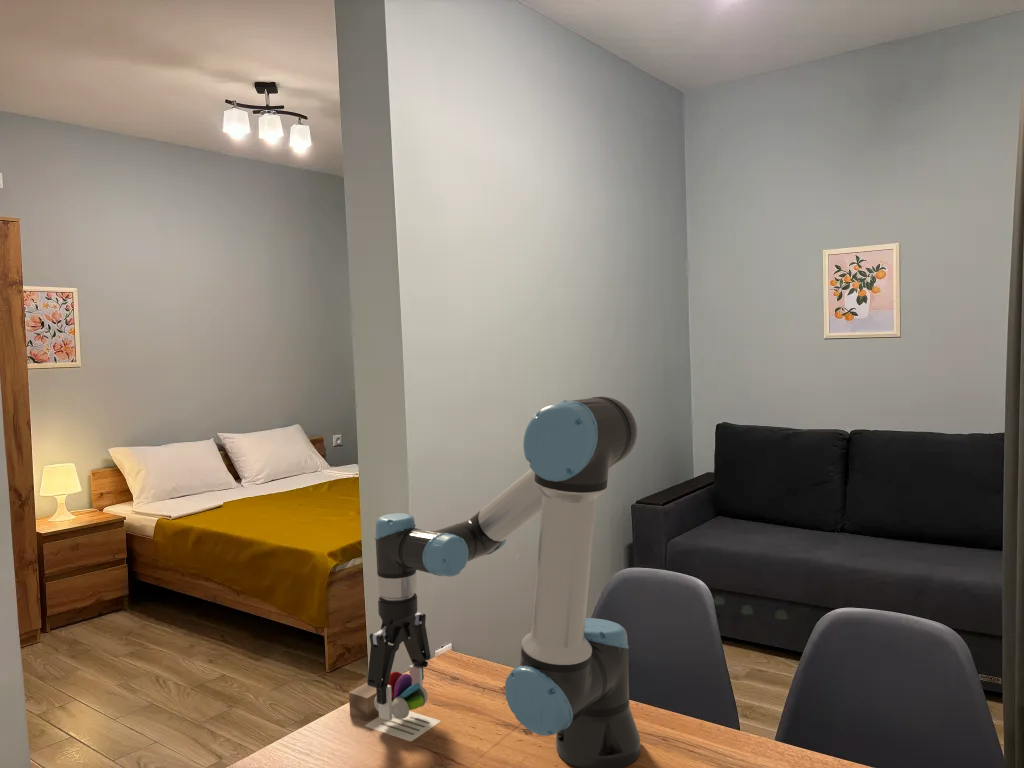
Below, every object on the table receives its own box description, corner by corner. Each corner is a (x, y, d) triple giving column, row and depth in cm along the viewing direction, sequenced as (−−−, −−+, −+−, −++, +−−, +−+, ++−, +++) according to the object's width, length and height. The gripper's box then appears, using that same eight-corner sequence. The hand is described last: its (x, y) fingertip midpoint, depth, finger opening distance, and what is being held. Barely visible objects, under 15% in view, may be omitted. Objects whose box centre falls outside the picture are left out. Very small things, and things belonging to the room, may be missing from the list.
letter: (441, 722, 148) (441, 720, 148) (411, 743, 140) (411, 741, 140) (395, 708, 155) (395, 706, 155) (364, 727, 147) (364, 725, 147)
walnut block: (385, 712, 153) (384, 688, 153) (368, 722, 149) (367, 698, 149) (367, 706, 156) (366, 682, 156) (350, 716, 152) (349, 692, 152)
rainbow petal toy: (397, 694, 154) (396, 660, 153) (434, 706, 148) (433, 670, 148) (368, 712, 147) (367, 675, 146) (405, 725, 141) (404, 687, 141)
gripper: (418, 576, 157) (421, 682, 158) (343, 607, 139) (348, 727, 141) (446, 582, 153) (450, 691, 154) (373, 615, 135) (378, 737, 137)
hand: (401, 708), depth 147 cm, fingers closed on rainbow petal toy, 8 cm apart
